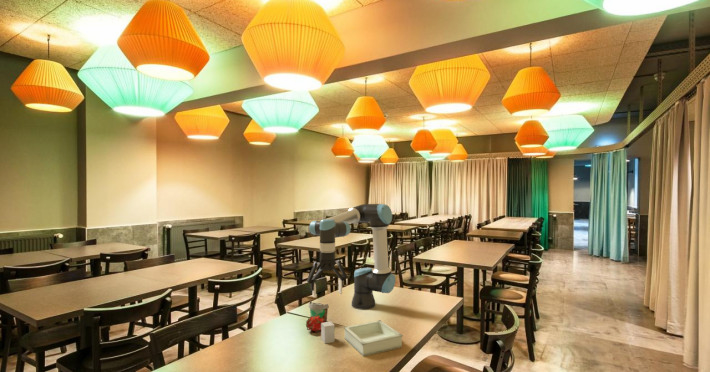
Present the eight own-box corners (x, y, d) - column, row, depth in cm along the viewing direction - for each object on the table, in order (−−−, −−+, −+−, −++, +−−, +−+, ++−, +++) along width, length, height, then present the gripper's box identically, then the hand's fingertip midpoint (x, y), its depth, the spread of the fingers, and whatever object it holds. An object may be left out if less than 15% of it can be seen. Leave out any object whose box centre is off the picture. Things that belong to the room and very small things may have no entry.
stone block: (330, 337, 169) (330, 321, 169) (334, 341, 165) (334, 324, 165) (321, 339, 167) (321, 323, 167) (324, 343, 163) (324, 326, 163)
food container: (304, 321, 190) (304, 303, 190) (310, 318, 195) (310, 300, 196) (322, 325, 184) (322, 307, 184) (328, 322, 190) (328, 303, 190)
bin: (380, 331, 177) (380, 320, 177) (402, 347, 158) (402, 335, 158) (343, 338, 168) (343, 327, 168) (362, 356, 149) (362, 343, 149)
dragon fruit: (303, 336, 175) (324, 334, 181) (310, 330, 170) (331, 328, 176) (301, 319, 180) (321, 318, 186) (308, 313, 175) (328, 312, 181)
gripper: (347, 248, 176) (347, 290, 175) (300, 252, 165) (300, 296, 164) (353, 250, 169) (353, 293, 168) (305, 254, 158) (305, 300, 158)
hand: (327, 295), depth 166 cm, fingers open, 13 cm apart
